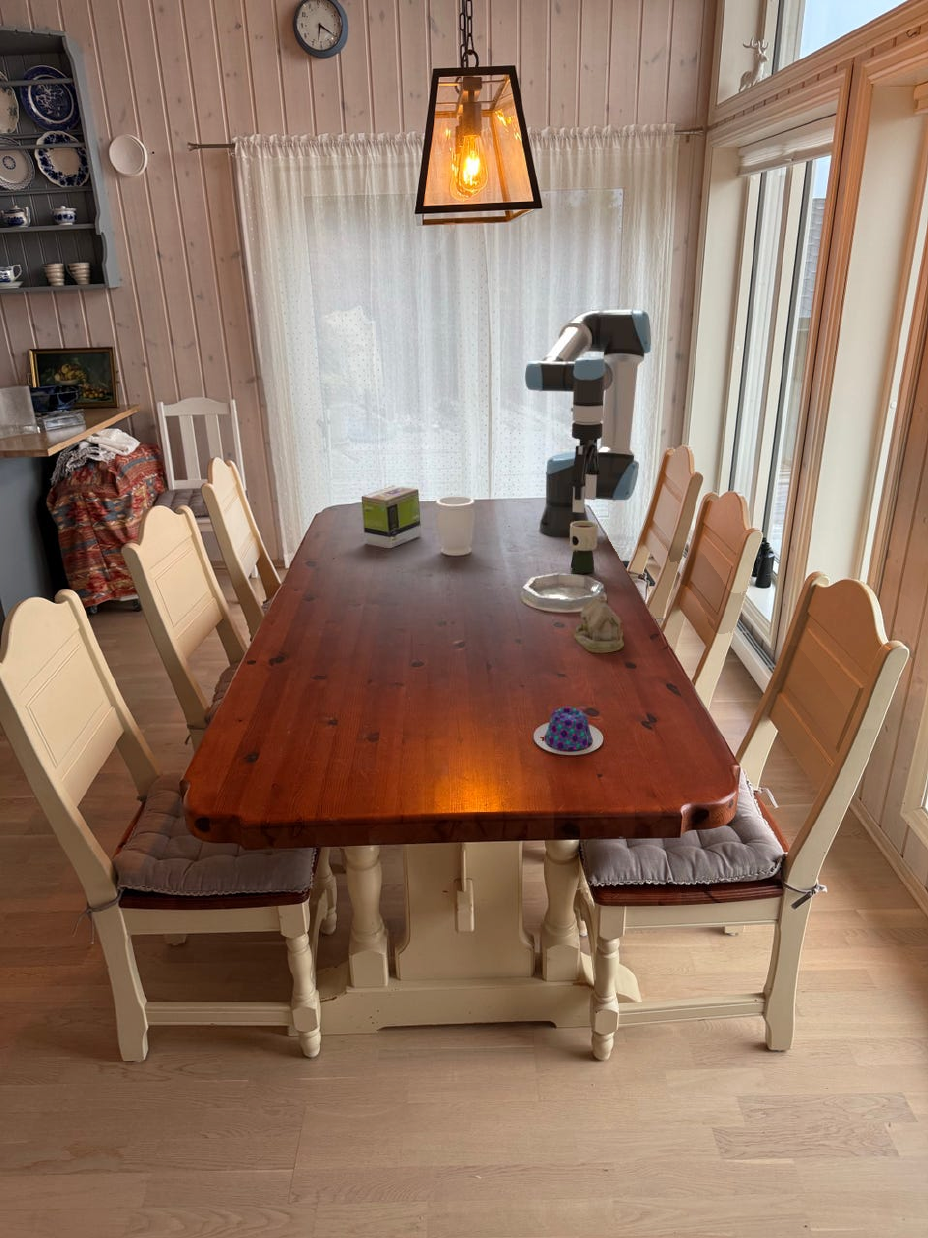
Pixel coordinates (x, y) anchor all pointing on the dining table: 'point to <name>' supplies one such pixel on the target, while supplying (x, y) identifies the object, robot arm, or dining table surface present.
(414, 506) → the tea box
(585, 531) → the character mug
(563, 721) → the pudding
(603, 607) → the ceramic model
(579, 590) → the octagonal bowl
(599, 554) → the dining table surface
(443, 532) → the jar
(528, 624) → the dining table surface
